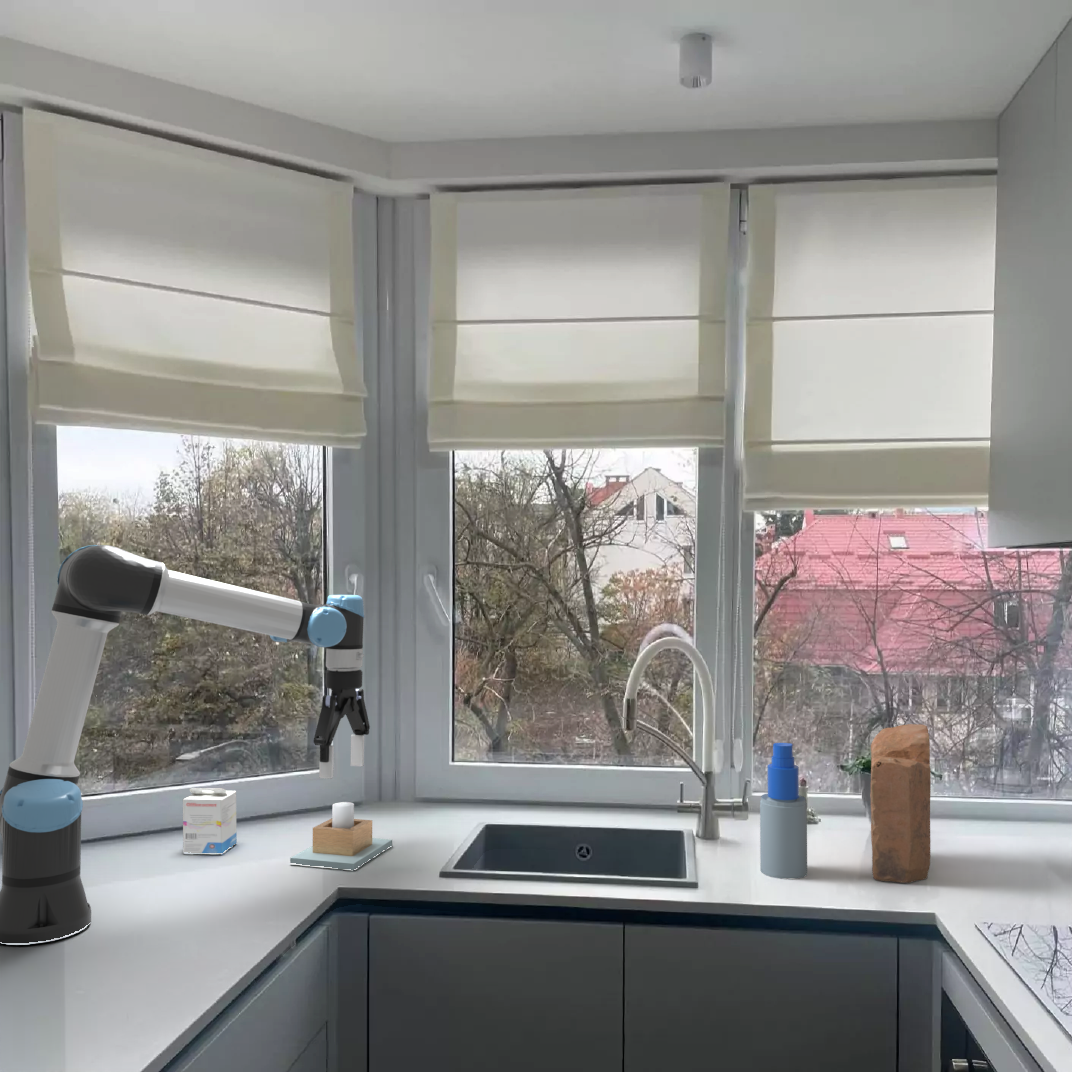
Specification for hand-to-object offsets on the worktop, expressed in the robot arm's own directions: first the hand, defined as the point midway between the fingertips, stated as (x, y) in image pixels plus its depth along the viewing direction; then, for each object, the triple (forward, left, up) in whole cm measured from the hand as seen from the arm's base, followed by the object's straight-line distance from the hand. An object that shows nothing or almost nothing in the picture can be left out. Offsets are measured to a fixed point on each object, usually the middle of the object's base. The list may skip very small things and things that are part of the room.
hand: (342, 771), depth 206 cm
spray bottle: (+15, -88, -18) cm, 91 cm away
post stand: (0, 0, -17) cm, 17 cm away
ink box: (-4, +29, -18) cm, 34 cm away
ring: (0, 0, -16) cm, 16 cm away
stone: (+24, -110, -18) cm, 114 cm away
